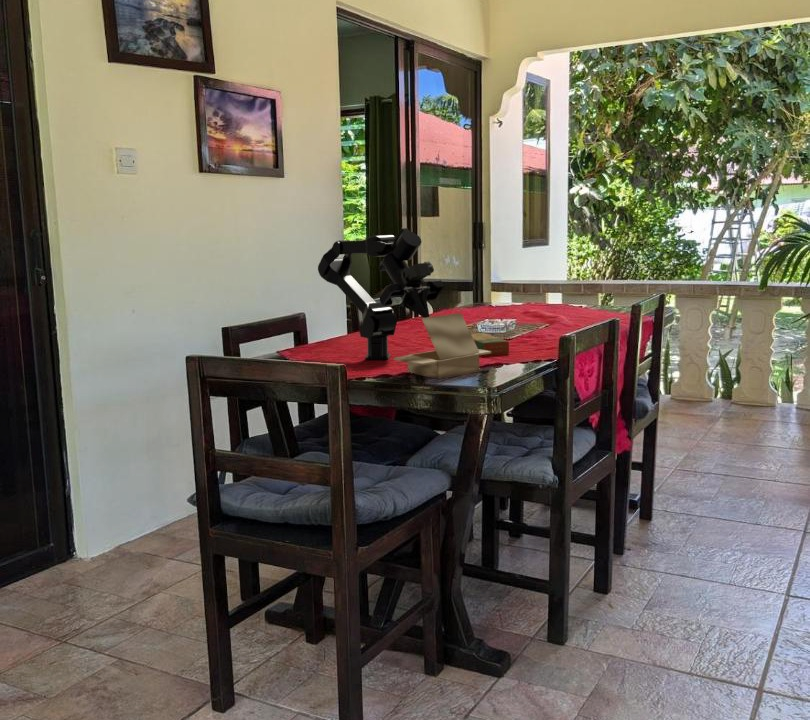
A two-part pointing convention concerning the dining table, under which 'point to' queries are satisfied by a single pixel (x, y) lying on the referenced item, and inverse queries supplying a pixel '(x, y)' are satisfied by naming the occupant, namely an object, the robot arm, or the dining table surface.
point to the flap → (450, 336)
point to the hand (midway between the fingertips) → (427, 317)
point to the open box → (441, 364)
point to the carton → (491, 344)
